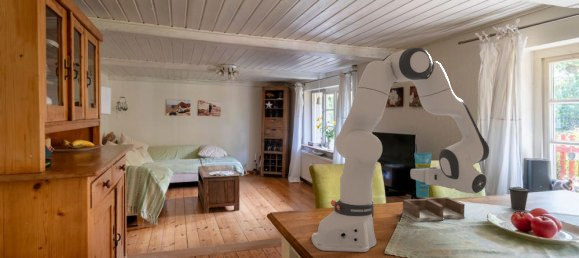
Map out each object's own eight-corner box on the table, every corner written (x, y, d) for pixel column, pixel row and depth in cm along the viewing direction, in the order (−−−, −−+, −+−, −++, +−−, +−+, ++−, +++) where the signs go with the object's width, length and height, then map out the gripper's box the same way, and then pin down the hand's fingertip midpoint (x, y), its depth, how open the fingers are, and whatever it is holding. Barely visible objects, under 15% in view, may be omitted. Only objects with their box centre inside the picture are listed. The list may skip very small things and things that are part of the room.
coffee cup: (522, 206, 156) (522, 185, 156) (532, 211, 148) (533, 189, 148) (504, 205, 157) (504, 185, 157) (514, 210, 149) (514, 189, 149)
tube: (416, 198, 138) (417, 153, 137) (411, 195, 142) (412, 152, 142) (433, 197, 138) (434, 153, 137) (428, 194, 143) (428, 151, 142)
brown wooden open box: (416, 221, 134) (416, 207, 133) (402, 212, 146) (402, 199, 145) (443, 220, 135) (443, 206, 135) (427, 211, 147) (427, 198, 147)
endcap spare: (438, 218, 137) (438, 205, 137) (423, 210, 149) (423, 197, 149) (464, 217, 139) (464, 204, 138) (447, 209, 150) (447, 197, 150)
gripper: (466, 166, 130) (441, 162, 143) (424, 169, 124) (402, 164, 137) (466, 182, 130) (441, 176, 144) (424, 185, 124) (402, 178, 137)
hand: (421, 170), depth 140 cm, fingers closed on tube, 6 cm apart
